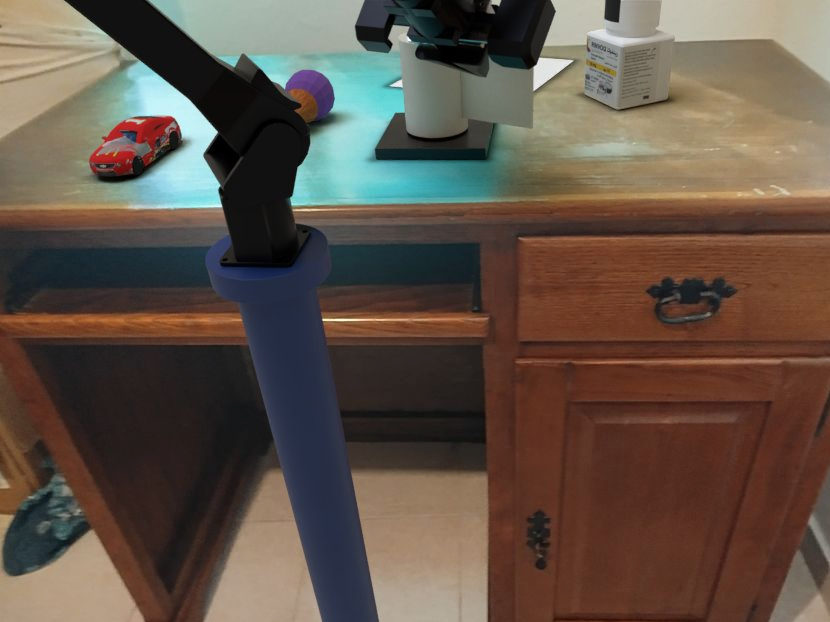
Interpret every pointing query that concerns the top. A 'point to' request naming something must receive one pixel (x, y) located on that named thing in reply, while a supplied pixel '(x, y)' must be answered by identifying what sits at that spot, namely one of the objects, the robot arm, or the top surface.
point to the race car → (135, 145)
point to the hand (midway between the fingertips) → (484, 72)
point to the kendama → (311, 94)
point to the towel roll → (461, 95)
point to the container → (629, 55)
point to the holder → (434, 142)
